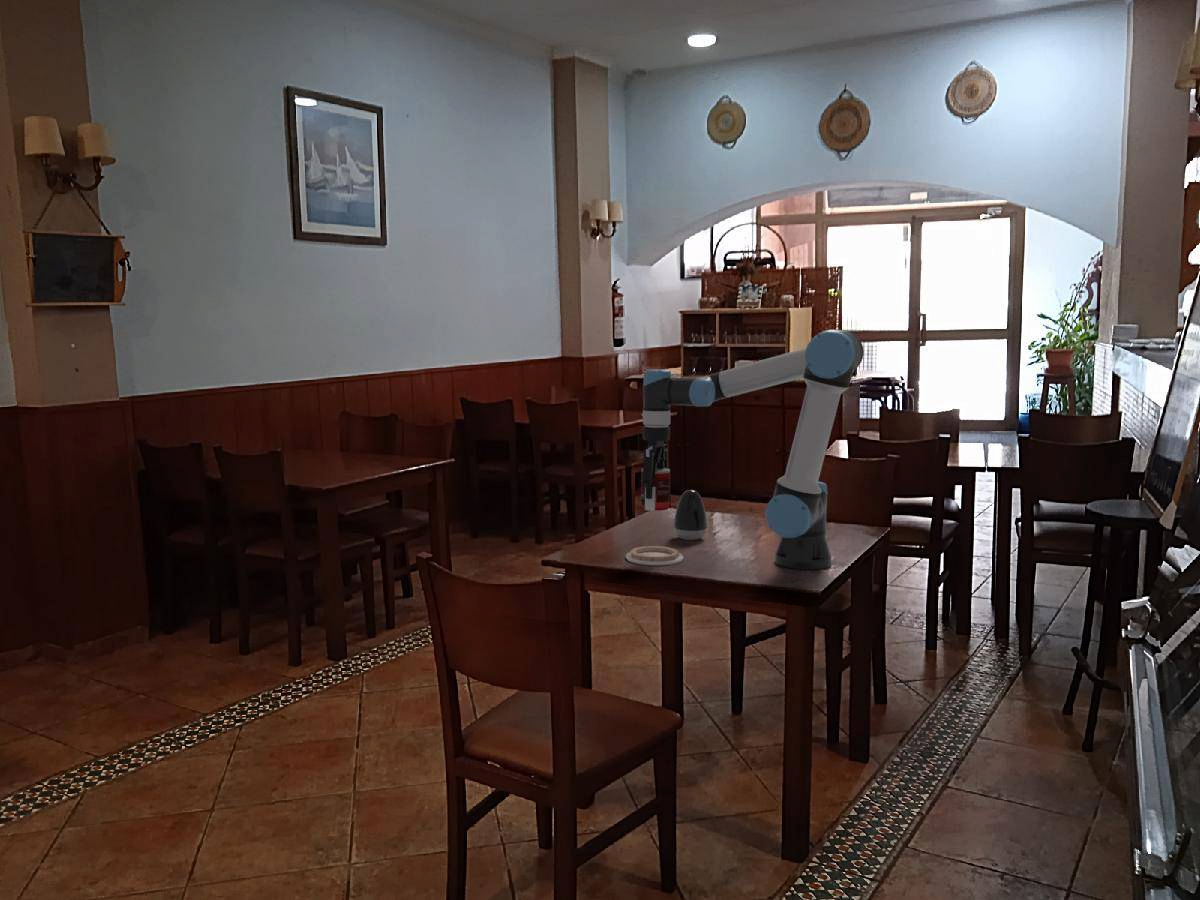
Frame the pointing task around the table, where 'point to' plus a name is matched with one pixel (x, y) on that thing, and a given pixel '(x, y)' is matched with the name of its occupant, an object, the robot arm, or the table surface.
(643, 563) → the dish
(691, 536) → the dark grey rounded dome
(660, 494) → the canned food
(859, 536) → the table surface
